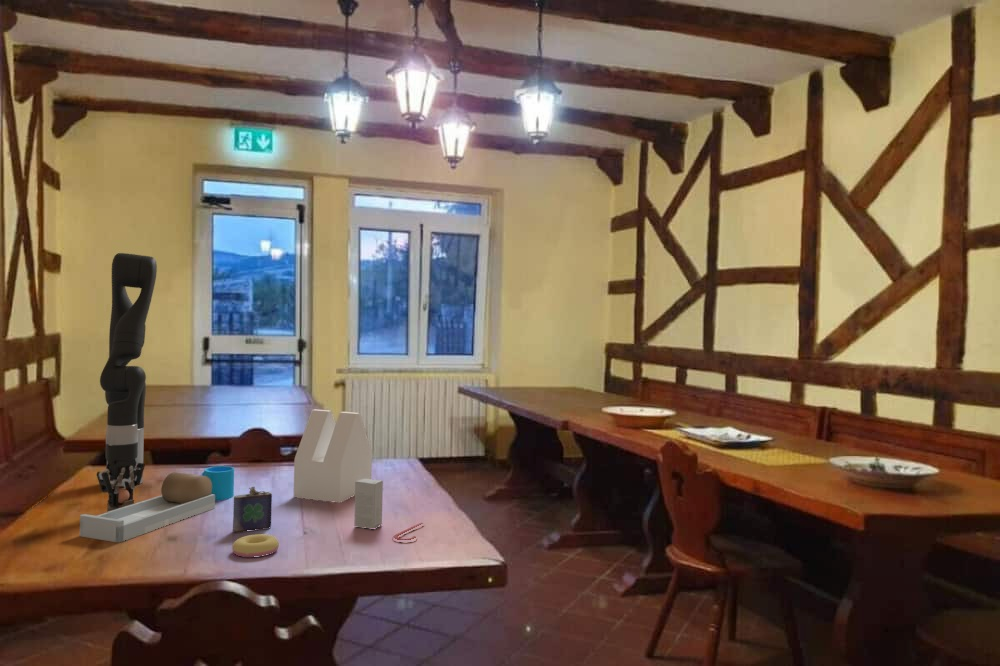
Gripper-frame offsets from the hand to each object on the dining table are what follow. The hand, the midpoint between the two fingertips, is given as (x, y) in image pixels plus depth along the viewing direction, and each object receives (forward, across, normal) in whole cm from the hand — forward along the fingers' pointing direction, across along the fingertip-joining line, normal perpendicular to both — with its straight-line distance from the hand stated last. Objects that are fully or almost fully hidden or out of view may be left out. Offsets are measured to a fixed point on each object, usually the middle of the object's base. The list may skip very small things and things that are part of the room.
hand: (120, 504), depth 188 cm
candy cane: (+3, -15, +78) cm, 79 cm away
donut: (+3, +11, +51) cm, 52 cm away
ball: (-2, 0, 0) cm, 2 cm away
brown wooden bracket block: (+2, 0, 0) cm, 2 cm away
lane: (+2, +2, +13) cm, 13 cm away
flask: (+2, -2, +40) cm, 40 cm away
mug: (+2, -24, +10) cm, 26 cm away
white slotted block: (+2, -42, +39) cm, 57 cm away
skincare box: (+2, -16, +65) cm, 67 cm away
